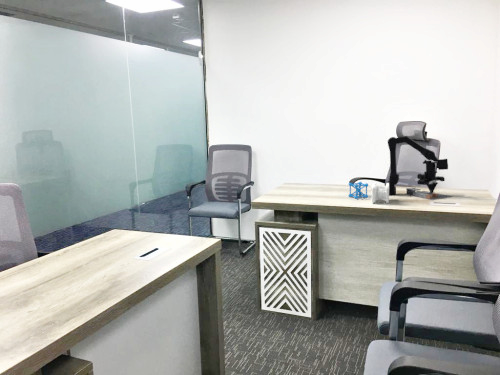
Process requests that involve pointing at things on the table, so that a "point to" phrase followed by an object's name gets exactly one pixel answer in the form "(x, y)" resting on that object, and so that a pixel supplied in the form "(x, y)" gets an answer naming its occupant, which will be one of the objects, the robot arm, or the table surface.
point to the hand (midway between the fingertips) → (431, 193)
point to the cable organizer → (380, 192)
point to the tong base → (417, 193)
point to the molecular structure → (358, 190)
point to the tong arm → (429, 193)
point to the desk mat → (440, 196)
